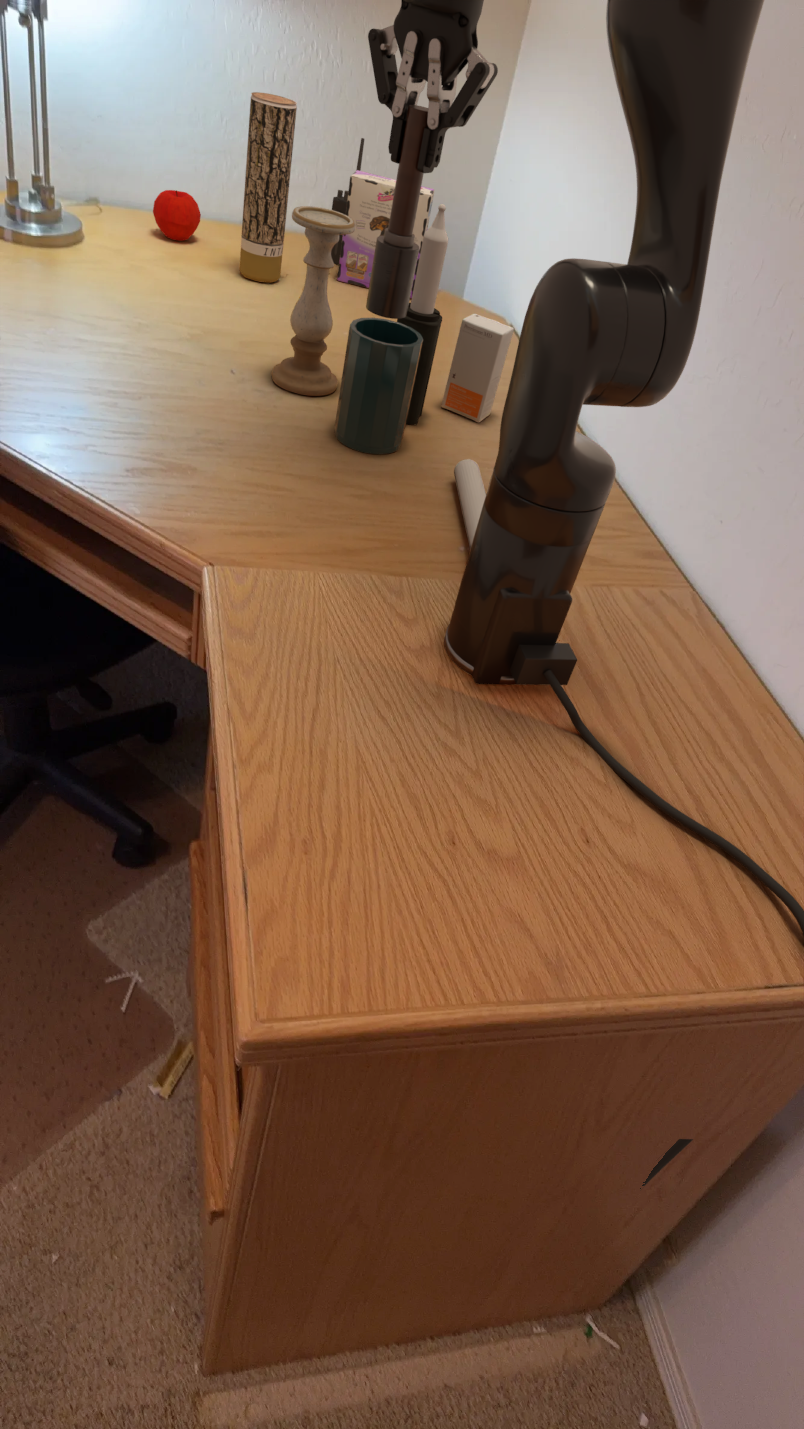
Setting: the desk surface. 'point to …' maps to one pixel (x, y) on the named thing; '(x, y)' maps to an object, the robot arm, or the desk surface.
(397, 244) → the brush
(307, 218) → the candle holder
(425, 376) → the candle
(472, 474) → the tube
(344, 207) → the walkie-talkie
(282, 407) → the desk surface
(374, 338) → the teal pencil cup
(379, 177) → the candy box
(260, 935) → the desk surface
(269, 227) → the paper tube
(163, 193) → the apple
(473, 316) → the cosmetic box
